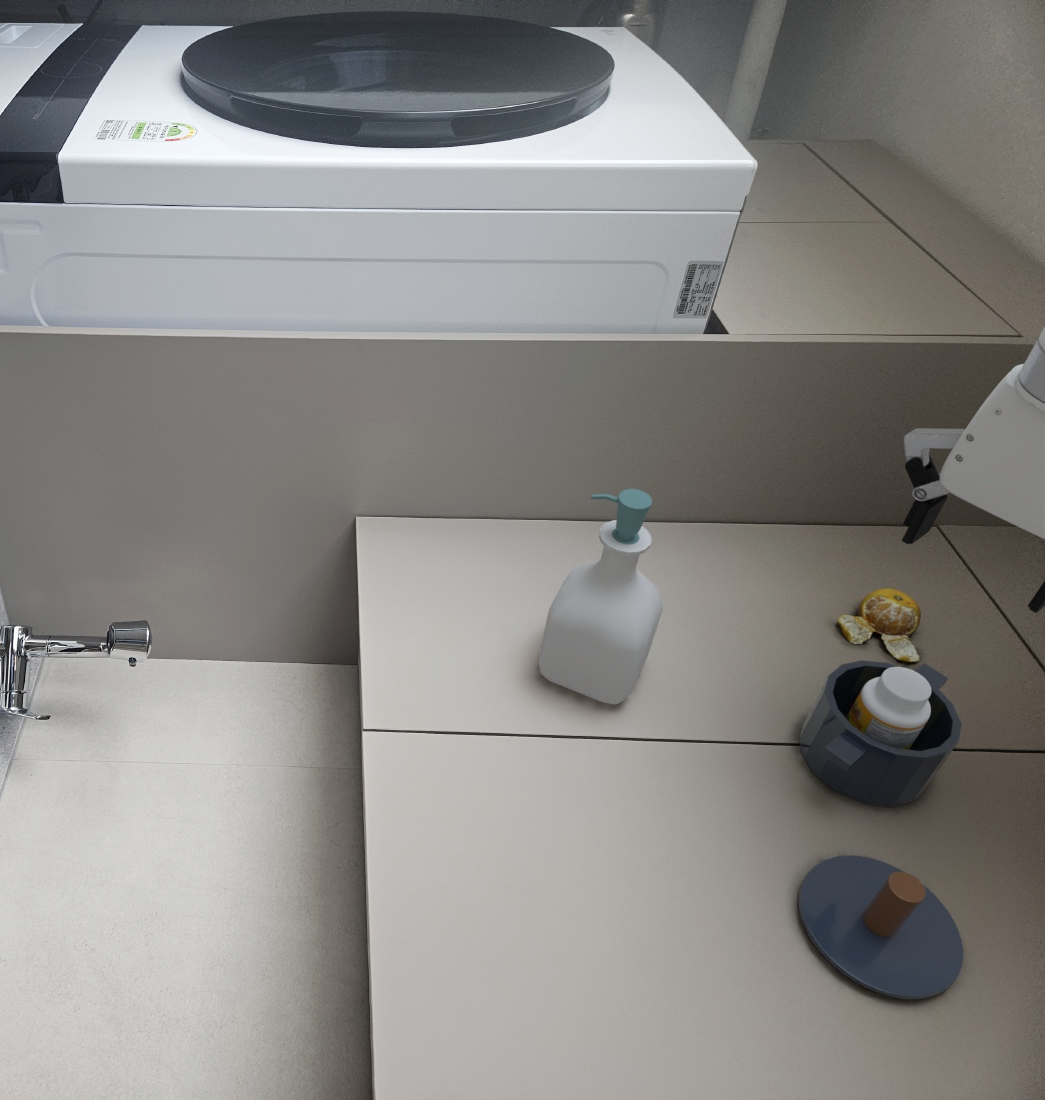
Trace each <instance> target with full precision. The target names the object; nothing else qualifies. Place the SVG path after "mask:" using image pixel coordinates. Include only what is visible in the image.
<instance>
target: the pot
mask: <svg viewBox="0 0 1045 1100" xmlns="http://www.w3.org/2000/svg"><path fill="white" fill-rule="evenodd" d="M891 667H899V665H895V664H893V663H890V662H884V661H874V660H865V659H863V660H862V659H861V660H857V661H852V662H851V661H850V662H847V663H842V664H840V666H838V667H837V668H836V669H834V670H833V671H832V672H831V673H830V674H828V676H827V677H826V679H825V681H824V683H823V684H822V687H821V689H820V691H819V693H818V695H817V697H816V699H815V701H814V702H813V705H812V706H811V708H810V710H809V712H808V713H807V716H806V717H805V720H804V722H803V726H802V728H801V730H800V733H799V747H800V751H801V754H802V757H803V759H804V761H805V763H806V764H807V766H808V767H809V769H810V770H811V771H812V772H813V773H814V775H815V776H816V777H818V778H819V779H820V780H821V782H823V783H824V784H826V785H827V786H828V787H829V788H830V789H832V790H834V791H835V792H837V793H839V794H841V795H842V796H845V797H846V798H848V799H851V800H853V801H856V802H859V803H861V804H866V805H869V806H876V807H898V806H903V805H905V804H909V803H910V802H912V801H914V800H915V799H917V798H918V797H919V796H920V795H921V794H922V793H923V791H925V790H926V788H927V787H928V786H929V785H930V783H931V782H932V780H933V779H934V778H935V776H936V775H937V773H938V772H939V771H940V769H941V768H942V766H943V765H944V764H945V762H946V760H948V758H949V756H950V755H951V753H952V752H953V750H954V749H955V747H956V746H957V745H958V743H959V742H960V740H961V731H962V720H961V719H960V716H959V714H958V712H957V709H956V708H955V705H954V704H953V702H952V701H951V700H950V699H949V697H947V696H946V695H945V694H944V693H943V692H942V691H941V690H940V689H942V687H944V686H945V684H946V682H947V681H948V680H949V677H948V676H946V675H944V674H942V673H941V672H939V671H938V670H936V669H935V668H933V667H931V666H930V665H928V664H926V663H925V662H923V663H922V664H920V665H919V666H918V667H916V669H914V671H915V672H917V673H919V674H920V675H922V676H923V677H924V678H925V679H926V680H927V681H928V683H929V684H930V686H931V695H930V697H929V699H928V701H929V703H930V707H931V714H930V717H929V719H928V721H927V722H926V724H925V725H924V727H923V729H922V730H921V732H920V733H919V735H918V736H917V738H916V739H915V741H914V742H913V744H912V745H911V747H910V748H909V750H906V749H897V748H894V747H891V746H889V745H886V744H883V743H881V742H878V741H875V740H873V739H871V738H870V737H868V736H867V735H865V734H864V733H863V732H861V731H860V730H858V729H857V728H855V727H854V726H852V725H851V724H850V722H849V721H848V720H847V719H846V717H847V715H848V713H849V712H850V710H851V708H852V706H853V704H854V703H855V701H856V699H857V697H858V696H859V694H860V692H861V690H862V688H863V687H864V685H865V684H866V683H867V682H868V681H870V680H871V679H873V678H877V677H881V675H882V674H883V672H884V671H885V670H886V669H888V668H891Z"/></svg>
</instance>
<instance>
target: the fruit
mask: <svg viewBox="0 0 1045 1100" xmlns="http://www.w3.org/2000/svg"><path fill="white" fill-rule="evenodd" d="M921 613H922V612H921V608H920V606H919V604H918V603H917V602H916V600H915V599H913V598H912V597H911V596H910V595H909V594H906V593H905V592H903V591H900V590H897V589H895V588H888V587H886V588H879V589H875V590H873V591H872V592H871V593H868V594H867V595H866V596H865V597H864V598H863V599H862V600H861V601H860V605H859V608H858V613H857V616H854V615H849V614H841V615H840V616H839V617H838V618H837V624H838V625H839V626H840V629H841V632H842V635H843V637H845V638H846V639H847V641H848V642H849V643H850V644H853V645H862V644H863V643H864V642H866V641H868V640H869V639H871V636H872V634H873V633H874V632H875V633H878V634H880V635H881V637H880V638H881V640H883V644H884V645H885V647H886V650H887V651H888V653H889V654H890V655H891V656H892V657H893V658H895V659H897V660H899V661H903V662H910V663H912V662H915V663H916V662H919V661H920V655H919V654H918V651H917V649H916V646H915V644H913V642H911V640H910V635H912V634H914V633H915V632H916V631H917V629H918V627H919V626H920V622H921V617H922V614H921Z"/></svg>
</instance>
